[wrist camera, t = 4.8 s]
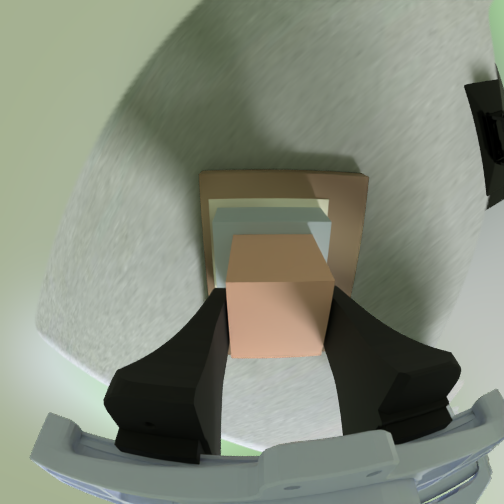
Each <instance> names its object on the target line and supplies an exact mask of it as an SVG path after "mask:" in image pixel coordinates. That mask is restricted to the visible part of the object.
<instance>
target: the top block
mask: <svg viewBox="0 0 504 504" xmlns="http://www.w3.org/2000/svg"><path fill="white" fill-rule="evenodd" d="M334 284H335V279H334V277H333V275H332V273H331V271H330V269H329V267H328V265H327V263H326V261H325V259H324V257H323V255H322V253H321V251H320V249H319V247H318V245H317V243H316V241H315V239H314V237H313V235H312V234H244V235H233V239H232V245H231V251H230V257H229V264H228V270H227V277H226V295H227V309H228V322H229V334H230V346H231V357H232V358H285V357H305V356H320V355H321V353H322V348H323V343H324V339H325V334H326V329H327V324H328V318H329V313H330V308H331V302H332V296H333V290H334Z"/></svg>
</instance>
